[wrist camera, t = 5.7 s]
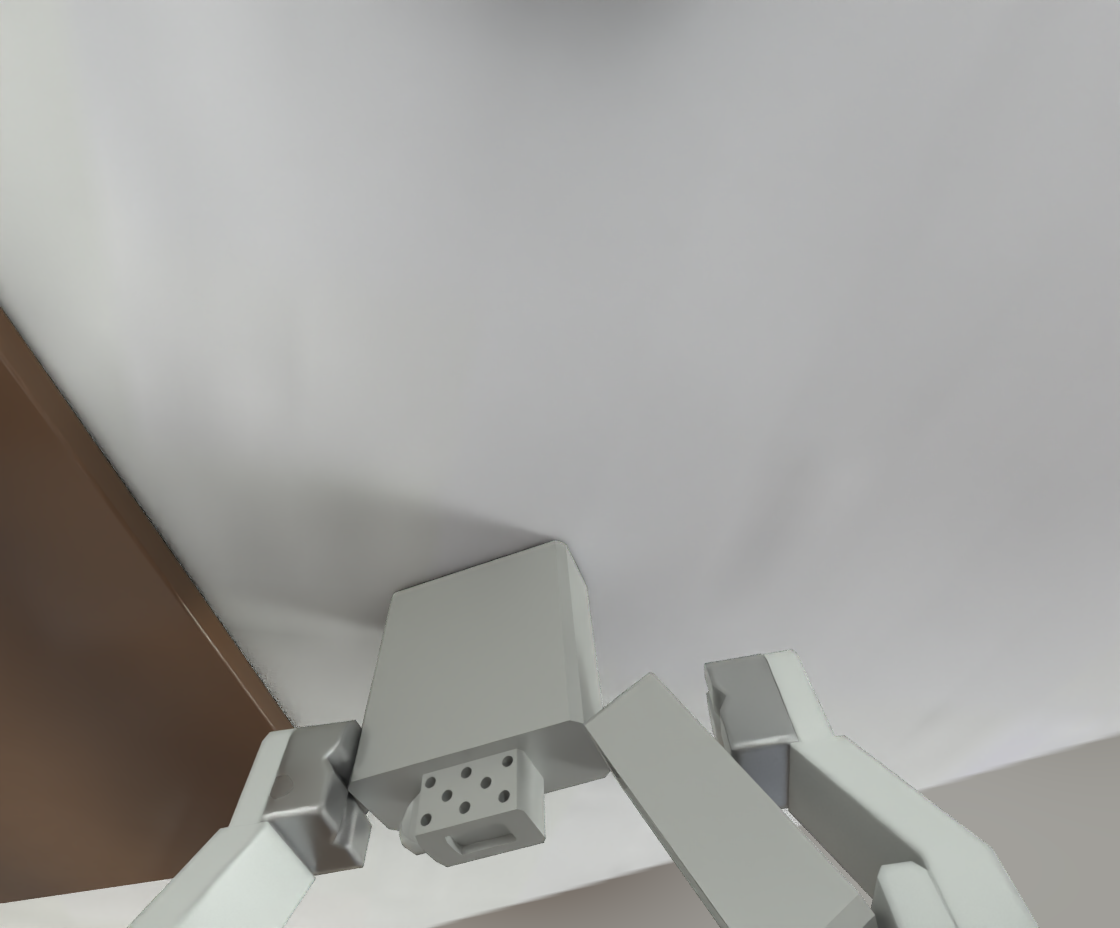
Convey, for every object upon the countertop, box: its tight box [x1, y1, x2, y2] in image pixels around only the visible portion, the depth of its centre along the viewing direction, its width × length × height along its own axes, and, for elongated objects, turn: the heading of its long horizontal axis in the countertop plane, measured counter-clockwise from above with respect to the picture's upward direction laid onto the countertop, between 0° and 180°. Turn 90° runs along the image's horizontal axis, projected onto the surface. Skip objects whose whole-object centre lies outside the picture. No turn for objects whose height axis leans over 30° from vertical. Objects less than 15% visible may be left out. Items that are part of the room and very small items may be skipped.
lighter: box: [347, 540, 878, 928], centre depth 10 cm, size 7×2×8 cm, turn 111°
